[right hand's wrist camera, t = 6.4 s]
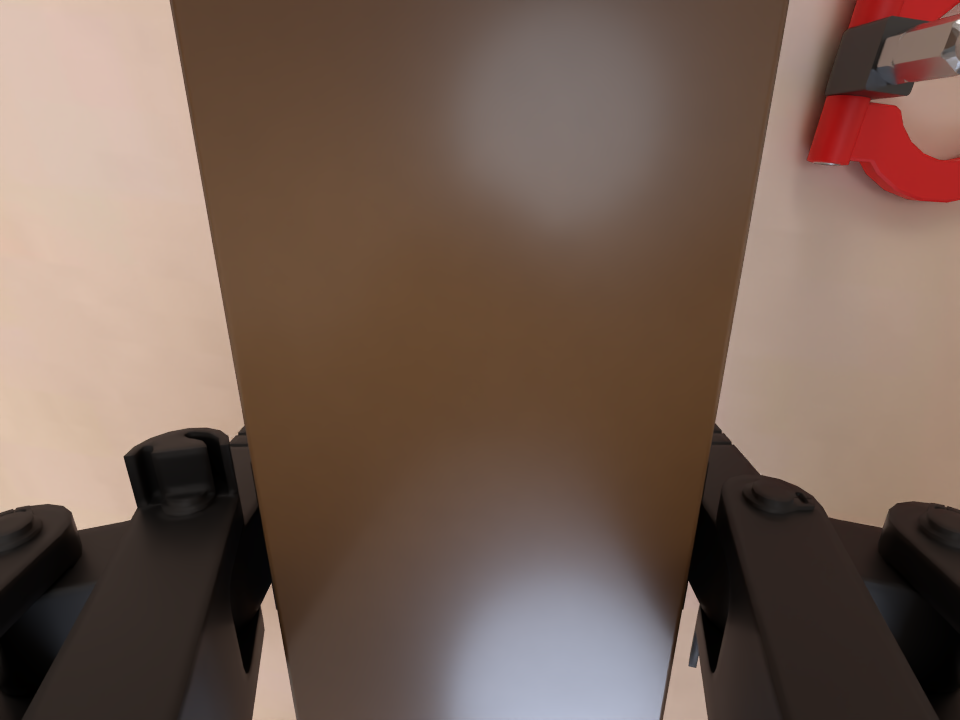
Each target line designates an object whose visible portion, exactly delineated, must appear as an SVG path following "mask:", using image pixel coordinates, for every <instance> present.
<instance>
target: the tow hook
mask: <svg viewBox="0 0 960 720" xmlns="http://www.w3.org/2000/svg"><path fill="white" fill-rule="evenodd" d="M958 3H960V0H857V2H856V5H855V8H854V11H853V15H852V18H851V21H850V24H849V27H848V29H847V30H846V31H845V32H844V33H843V36H842V39H841V42H840V45H839V49H838V52H837V55H836V58H835V61H834V65H833V68H832V71H831V74H830V77H829V81H828V84H827V87H826V90H825V96H826V101H825V104H824V107H823V110H822V113H821V116H820V120H819V123H818V126H817V129H816V132H815V136H814V139H813V142H812V145H811V148H810V151H809V155H808V158H807V161H809V162H814V163H815V164H822V165H832V166H840V165H849V162H850V161H856V162H860V164H861V166H862V168H863V170H864V171H865V173H866V174H867V175H868V176H869V177H870V178H871V179H872V180H874V181H875V182H876V183H877V184H878V185H879V186H880V187H881V188H883V189H884V190H886V191H888V192H890V193H893V194H895V195H898V196H900V197H903V198H905V199H909V200H918V201H931V202H946V203H947V202H952V201H957V200H960V157H959V158H954V159H950V160H938V159H936V158H933V157H931V156H929V155H926V154H924V153H923V152H922V151H921V150H920V149H918V148H917V147H916V146H915V145H914V144H913V143H912V142H911V140H910V138H909V136H908V134H907V132H906V130H905V128H904V126H903V121H902V115H901V111H900V109H899V108H898V107H897V106H894V105H886V104H879V103H872V102H870V100H872V99H881V98H890V97H899V96H907V95H909V94H910V92H911V90H912V87H913V84H914V82H917V81H924V80H931V79H938V78H945V77H953V76H957V75H960V14H957V15H954V16H950V17H946V18H942V19H939V18H941V17H942V16H943V15H944V14H946V13H947V12H948V11H949V10H950V9H952V8H953V7H954V6H955V5H957V4H958Z"/></svg>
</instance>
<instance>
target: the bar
mask: <svg viewBox="0 0 960 720" xmlns="http://www.w3.org/2000/svg"><path fill="white" fill-rule="evenodd" d="M170 4H171V10H172V16H173V21H174V27H175V33H176V38H177V44H178V50H179V55H180V61H181V67H182V72H183V78H184V84H185V89H186V95H187V101H188V106H189V112H190V118H191V123H192V129H193V135H194V141H195V146H196V152H197V158H198V163H199V169H200V175H201V180H202V186H203V192H204V197H205V203H206V209H207V214H208V220H209V226H210V231H211V237H212V243H213V248H214V254H215V260H216V265H217V271H218V277H219V282H220V288H221V294H222V299H223V305H224V311H225V316H226V322H227V328H228V333H229V339H230V345H231V350H232V356H233V362H234V367H235V373H236V379H237V384H238V390H239V396H240V401H241V407H242V413H243V418H244V424H245V430H246V435H247V441H248V447H249V452H250V458H251V464H252V469H253V475H254V481H255V486H256V492H257V498H258V503H259V509H260V515H261V520H262V526H263V532H264V537H265V543H266V549H267V554H268V560H269V566H270V571H271V577H272V583H273V588H274V594H275V600H276V605H277V611H278V617H279V622H280V628H281V634H282V639H283V645H284V651H285V656H286V662H287V668H288V673H289V679H290V685H291V690H292V696H293V702H294V707H295V713H296V719H297V720H663V715H664V710H665V704H666V698H667V693H668V687H669V681H670V676H671V670H672V664H673V659H674V653H675V647H676V642H677V636H678V630H679V625H680V619H681V613H682V607H683V602H684V596H685V590H686V585H687V579H688V573H689V568H690V562H691V556H692V551H693V545H694V539H695V534H696V528H697V522H698V516H699V511H700V505H701V499H702V494H703V488H704V482H705V477H706V471H707V465H708V460H709V454H710V448H711V443H712V437H713V431H714V425H715V420H716V414H717V408H718V403H719V397H720V391H721V386H722V380H723V374H724V369H725V363H726V357H727V352H728V346H729V340H730V334H731V329H732V323H733V317H734V312H735V306H736V300H737V295H738V289H739V283H740V278H741V272H742V266H743V261H744V255H745V249H746V243H747V238H748V232H749V226H750V221H751V215H752V209H753V204H754V198H755V192H756V187H757V181H758V175H759V170H760V164H761V158H762V152H763V147H764V141H765V135H766V130H767V124H768V118H769V113H770V107H771V101H772V96H773V90H774V84H775V79H776V73H777V67H778V61H779V56H780V50H781V44H782V39H783V33H784V27H785V22H786V16H787V10H788V5H789V0H170Z"/></svg>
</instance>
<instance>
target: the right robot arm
mask: <svg viewBox="0 0 960 720" xmlns="http://www.w3.org/2000/svg"><path fill="white" fill-rule="evenodd" d="M124 460H125V464H126V467H127V471H128V475H129V478H130V482H131V486H132V489H133V493H134V497H135V500H136V504H137V510H136V511H135V513H134V515H133V517H132V519H131V520H129V521H125V522H120V523H115V524H110V525H104V526H99V527H94V528H89V529H83V530H78V531H77V528H76V525H75V522H74V518H73V515H72V512H70V511H69V510H68V509H66V508H65V507H64V506H59V505H51V504H44V505H35V506H24V507H19V508H16V510H13V509H11V510H8V511H5V512H2V513H0V720H252V716H253V709H254V702H255V695H256V688H257V680H258V673H259V666H260V659H261V652H262V644H263V637H264V622H263V616H262V610H261V603H262V601H263V599H264V597H265V595H266V593H267V591H268V589H269V587H270V585H271V583H272V577H271V571H270V566H269V560H268V554H267V549H266V543H265V537H264V532H263V526H262V520H261V515H260V509H259V503H258V498H257V492H256V486H255V481H254V475H253V469H252V464H251V458H250V452H249V447H248V441H247V435H246V430H245V426H244V427H243V428H242V429H241V430H240V431H239V432H238V435H236V436H235V437H234V438H233V439H232V441H231V442H229V437H228V436H227V435H226V434H225V433H223V432H222V431H220V430H216V429H211V428H187V429H182V430H177V431H171V432H167V433H164V434H161V435H158V436H155V437H152V438H150V439H148V440H146V441H144V442H142V443H140V444H139V445H137V446H135V447H133V448H132V449H131V450H130V451H129V452H128V453H127V454H126V455H125V456H124ZM688 581H689V583H690V585H691V587H692V589H693V591H694V593H695V595H696V597H697V599H698V601H699V603H700V605H699V610H698V616H697V621H696V626H695V631H694V637H693V642H692V647H691V652H690V659H689V666H690V667H695V668H696V666H697V661H698V656H699V658H700V665H701V672H702V679H703V686H704V693H705V701H706V708H707V715H708V720H960V510H958V509H955V508H952V507H949V506H947V507H945V506H944V505H940V504H935V503H922V502H913V501H912V502H904V503H897V504H896V505H894V506H893V507H892V508H890V509H889V511H888V514H887V517H886V520H885V523H884V526H883V528H879V527H874V526H869V525H864V524H858V523H853V522H848V521H842V520H837V519H833V518H829V517H828V516H827V514H826V512H825V511H824V509H823V507H822V506H821V505H820V504H819V502H818V501H817V500H816V499H815V498H814V497H813V496H812V495H810V494H809V493H807V492H806V491H804V490H803V489H801V488H799V487H798V486H795V485H793V484H790V483H788V482H785V481H783V480H780V479H777V478H772V477H767V476H763V475H760V474H759V473H758V472H757V471H756V469H755V468H754V467H753V466H752V465H751V464H750V463H749V461H748V460H747V459H746V458H745V457H744V456H743V455H742V453H741V452H740V451H739V450H738V449H737V448H736V447H735V445H732V444H731V441H730V440H729V439H728V437H727V436H726V435H725V434H724V433H722V431H721V429H720V428H719V427H718V426H717V425H716V424H715V425H714V431H713V437H712V443H711V448H710V454H709V460H708V465H707V471H706V477H705V482H704V488H703V494H702V499H701V505H700V511H699V516H698V522H697V528H696V534H695V539H694V545H693V551H692V556H691V562H690V568H689V573H688V579H687V585H686V590H685V596H684V602H683V607H682V610H683V608H684V603H685V597H686V591H687V586H688ZM272 588H273V583H272ZM273 594H274V588H273ZM274 599H275V594H274ZM275 605H276V600H275ZM276 610H277V605H276Z"/></svg>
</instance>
